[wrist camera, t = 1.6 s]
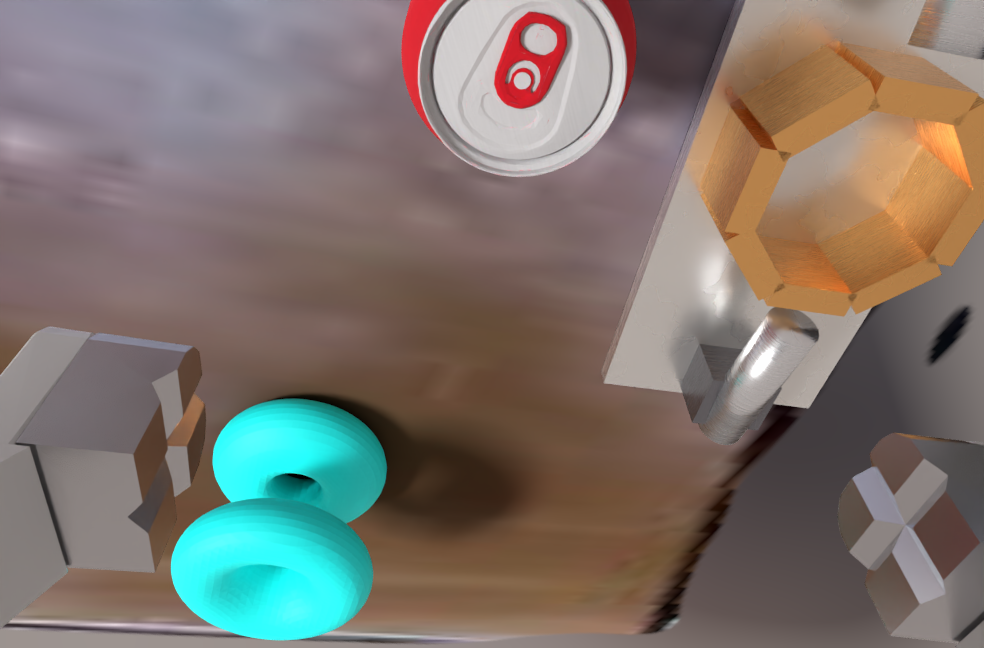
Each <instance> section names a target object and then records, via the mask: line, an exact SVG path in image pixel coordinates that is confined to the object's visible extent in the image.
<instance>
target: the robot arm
mask: <svg viewBox="0 0 984 648" xmlns="http://www.w3.org/2000/svg"><path fill="white" fill-rule="evenodd" d="M201 376H202V369H201V361H200V354H199V351H198V350H197V349H196V348H194V347H193V346H186V345H179V344H172V343H165V342H159V341H152V340H145V339H138V338H131V337H124V336H117V335H111V334H104V333H98V334H95V333H90V332H83V331H76V330H70V329H63V328H56V327H46V328H44V329H42V330H40V331H38V332H36V333H35V334H33V336H32V337H31V338H30V339H29V341H28V342H27V343H26V344H25V345H24V347H23V348H22V349H21V350H20V352H19V353H18V354H17V355H16V357H15V358H14V359H13V360H12V362H11V363H10V364H9V365H8V366H7V368H6V369H5V370H4V371H3V373H2V374H1V375H0V629H1V628H2V627H3V626H4V625H6V624H7V623H8V622H9V621H10V620H12V619H13V618H14V617H15V616H16V615H18V614H19V613H20V612H21V611H22V610H23V609H25V608H26V607H27V606H28V605H29V604H31V603H32V602H33V601H34V600H35V599H37V598H38V597H39V596H40V595H41V594H43V593H44V592H45V591H46V590H47V589H49V588H50V587H51V586H52V585H53V584H55V583H56V582H57V581H58V580H59V579H61V578H62V577H63V576H64V575H65V574H67V573H68V570H67V567H69V568H86V569H103V570H120V571H137V572H153V573H155V572H156V569H157V567H158V564H159V562H160V560H161V557H162V555H163V552H164V550H165V547H166V545H167V543H168V540H169V538H170V535H171V533H172V531H173V528H174V526H175V523H176V521H177V513H176V505H175V496H177V495H178V494H180V493H181V492H183V491H184V490H185V489H187V488H188V487H190V486H191V484H192V481H193V479H194V476H195V474H196V471H197V468H198V466H199V462H200V458H201V454H202V449H203V445H204V440H205V428H206V413H205V404H204V403H203V402H202V401H201V400H200V398H199V397H198V396H197V395H196V394H195V393H194V392H195V389H196V387H197V385H198V383H199V381H200V378H201ZM870 457H871V463H872V467H871V468H870V469H868V470H866V471H864V472H862V473H860V474H858V475H856V476H855V477H853V478H852V479H851V480H850V482H849V483H848V485H847V486H846V488H845V490H844V491H843V493H842V494H841V496H840V502H839V510H838V522H839V527H840V532H841V535H842V538H843V539H844V542H845V544H846V546H847V548H848V550H849V552H850V553H851V554H852V555H853V556H854V557H856V558H857V559H858V560H859V561H860V562H861V563H862V564H863V565H864V566H866V567H867V568H868V573H867V577H866V581H865V586H866V588H867V590H868V592H869V594H870V596H871V598H872V600H873V602H874V604H875V606H876V608H877V610H878V612H879V614H880V617H881V619H882V621H883V623H884V625H885V627H886V629H887V631H888V633H889V635H890V636H898V637H907V638H915V639H924V640H933V641H941V642H951V643H958V644H957V645H956V646H955V647H956V648H984V442H975V441H970V442H966V441H960V440H952V439H944V438H935V437H926V436H918V435H909V434H900V433H892V434H890V435H888V436H887V437H885V438H883V439H881V440H880V441H879V442H878V444H877V445H876V446H875V448H874V449H873V450H872V452H871V453H870Z"/></svg>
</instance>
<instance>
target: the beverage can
mask: <svg viewBox="0 0 984 648" xmlns="http://www.w3.org/2000/svg"><path fill="white" fill-rule="evenodd" d="M635 61H636V29H635V22H634V18H633V14H632V10H631V7H630V4H629V1H628V0H411V2H410V5H409V9H408V13H407V16H406V20H405V25H404V30H403V37H402V66H403V73H404V78H405V82H406V85H407V89H408V92H409V95H410V97H411V100H412V102H413V104H414V106H415V108H416V110H417V112H418V114H419V115H420V117H421V118H422V120H423V121H424V123H425V124H426V125H427V127H428V128H429V129H430V131H431V132H432V133H433V134H434V135H435V136H436V137H437V138H438V139H439V140H440V141H441V142H442V143H443V144H444V145H445V146H446V147H448V148H449V149H450V150H451V151H452V152H453V153H454V154H455V155H456V156H458V157H459V158H461V159H462V160H463V161H465V162H467V163H468V164H470V165H472V166H474V167H476V168H478V169H480V170H483V171H486V172H489V173H493V174H497V175H501V176H511V177H527V176H537V175H541V174H545V173H549V172H552V171H555V170H557V169H560V168H562V167H565V166H566V165H568V164H570V163H572V162H574V161H576V160H577V159H578V158H580V157H581V156H583V155H584V154H585V153H587V152H588V151H589V150H590V149H591V148H592V147H593V146H594V145H595V144H596V143H597V142H598V141H599V140H600V139H601V138H602V137H603V135H604V134H605V133H606V131H607V130H608V128H609V127H610V125H611V123H612V122H613V120H614V118H615V117H616V114H617V113H618V111H619V109H620V107H621V105H622V103H623V101H624V100H625V97H626V95H627V92H628V89H629V86H630V83H631V80H632V77H633V72H634V67H635Z"/></svg>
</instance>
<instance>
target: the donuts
mask: <svg viewBox="0 0 984 648" xmlns="http://www.w3.org/2000/svg"><path fill="white" fill-rule="evenodd" d="M213 468H214V473H215V477H216V480H217V482H218V484H219V486H220V488H221V489H222V491H223V493H224V494H225V496H226V497H227V498H228V499H229V500H230V501H231V502H232V503H228V504H225V505H222V506H220V507H218V508H215V509H213V510H211V511H209V512H208V513H206V514H204V515H202V516H201V517H199V518H198V519H197V520H196V521H195V522H193V523H192V524H191V525H190V526H189V527H188V528H187V529H186V530H185V532H184V533H183V534H182V536H181V537H180V539H179V540H178V542H177V544H176V547H175V549H174V552H173V555H172V562H171V574H172V579H173V583H174V586H175V589H176V591H177V593H178V594H179V596H180V597H181V599H182V600H183V601H184V602H185V604H186V605H187V606H188V607H189V608H190V609H191V610H192V611H193V612H194V613H195V614H197V615H198V616H199V617H201V618H202V619H204V620H206V621H207V622H209V623H211V624H213V625H215V626H217V627H219V628H221V629H224V630H227V631H229V632H232V633H235V634H239V635H243V636H247V637H253V638H259V639H267V640H296V639H304V638H310V637H314V636H318V635H322V634H325V633H327V632H330V631H332V630H334V629H336V628H338V627H340V626H342V625H343V624H345V623H346V622H348V621H349V620H350V619H352V618H353V617H354V616H355V615H356V614H357V613H358V612H359V611H360V609H361V608H362V607H363V605H364V604H365V602H366V600H367V598H368V596H369V594H370V591H371V587H372V581H373V567H372V561H371V558H370V555H369V553H368V550H367V548H366V546H365V544H364V543H363V542H362V540H361V539H360V537H359V536H358V535H357V534H356V533H355V531H354V530H353V529H352V528H351V527H349V526H348V525H347V524H346V523H348V522H350V521H352V520H354V519H356V518H357V517H359V516H360V515H362V514H363V513H365V512H366V511H367V510H368V509H369V508H370V507H371V506H372V505H373V504H374V503H375V501H376V500H377V499H378V497H379V496H380V494H381V492H382V489H383V487H384V484H385V480H386V473H387V464H386V458H385V454H384V451H383V448H382V446H381V444H380V442H379V441H378V439H377V437H376V436H375V435H374V433H373V432H372V431H371V430H370V429H369V428H368V427H367V426H366V425H365V424H364V423H363V422H362V421H360V420H359V419H358V418H356V417H355V416H353V415H352V414H350V413H348V412H346V411H344V410H342V409H340V408H338V407H335V406H333V405H330V404H326V403H322V402H318V401H313V400H307V399H294V398H293V399H278V400H272V401H267V402H263V403H260V404H257V405H254V406H252V407H250V408H248V409H246V410H244V411H243V412H241V413H239V414H238V415H237V416H235V417H234V418H233V419H232V420H231V421H230V422H229V423H228V424H227V425H226V426H225V427H224V429H223V430H222V431H221V433H220V435H219V437H218V439H217V441H216V444H215V447H214V452H213ZM285 473H295V474H301V475H305V476H308V477H310V478H312V479H300V478H295V477H292V476H289V475H286V474H285Z"/></svg>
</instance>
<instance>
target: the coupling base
mask: <svg viewBox="0 0 984 648" xmlns="http://www.w3.org/2000/svg"><path fill="white" fill-rule="evenodd" d="M983 220H984V0H735V3H734V6H733V9H732V11H731V14H730V17H729V20H728V23H727V25H726V28H725V31H724V34H723V36H722V39H721V42H720V45H719V47H718V50H717V53H716V56H715V58H714V61H713V64H712V67H711V69H710V72H709V75H708V78H707V80H706V83H705V86H704V89H703V91H702V94H701V97H700V100H699V102H698V105H697V108H696V111H695V113H694V116H693V119H692V122H691V124H690V127H689V130H688V133H687V136H686V138H685V141H684V144H683V147H682V149H681V152H680V155H679V158H678V160H677V163H676V166H675V169H674V171H673V174H672V177H671V180H670V182H669V185H668V188H667V191H666V193H665V196H664V199H663V202H662V204H661V207H660V210H659V213H658V215H657V218H656V221H655V224H654V226H653V229H652V232H651V235H650V237H649V240H648V243H647V246H646V249H645V251H644V254H643V257H642V260H641V262H640V265H639V268H638V271H637V273H636V276H635V279H634V282H633V284H632V287H631V290H630V293H629V295H628V298H627V301H626V304H625V306H624V309H623V312H622V315H621V317H620V320H619V323H618V326H617V328H616V331H615V334H614V337H613V339H612V342H611V345H610V348H609V350H608V353H607V356H606V359H605V362H604V364H603V367H602V370H601V373H602V378H603V382H604V383H607V384H615V385H624V386H632V387H640V388H648V389H656V390H664V391H672V392H681V393H683V396H684V399H685V402H686V405H687V408H688V411H689V414H690V417H691V420H692V423H698V424H699V427H700V429H701V431H702V432H703V433H704V434H705V435H706V436H707V437H708V438H709V439H711V440H712V441H714V442H716V443H719V444H723V445H731V444H734V443H736V442H737V441H738V440H739V439H740V438H741V437H742V435H743V434H744V433H745V432H746V430H747V429H751V430H758V429H759V427H760V426H761V424H762V422H763V420H764V419H765V417H766V415H767V414H768V412H769V410H770V408H771V407H772V405H773V404H778V405H787V406H795V407H803V408H809V407H810V405H811V404H812V402H813V401H814V399H815V397H816V396H817V394H818V393H819V391H820V389H821V388H822V386H823V385H824V383H825V381H826V380H827V378H828V377H829V375H830V373H831V372H832V370H833V369H834V367H835V366H836V364H837V362H838V361H839V359H840V358H841V356H842V354H843V353H844V351H845V350H846V348H847V346H848V345H849V343H850V342H851V340H852V339H853V337H854V335H855V334H856V332H857V331H858V329H859V327H860V326H861V324H862V323H863V321H864V319H865V318H866V316H867V315H868V313H869V311H870V310H871V308H872V307H874V306H876V305H878V304H880V303H882V302H884V301H886V300H889V299H891V298H893V297H895V296H897V295H899V294H901V293H903V292H906V291H908V290H910V289H912V288H914V287H916V286H919V285H921V284H923V283H925V282H927V281H929V280H931V279H934V278H936V277H938V276H940V275H942V274H941V272H940V269H939V266H938V264H941V265H947V266H953V264H954V263H955V261H956V260H957V258H958V257H959V255H960V254H961V252H962V251H963V250H964V248H965V247H966V245H967V244H968V242H969V241H970V239H971V238H972V236H973V235H974V233H975V232H976V231H977V229H978V228H979V226H980V225H981V223H982V222H983Z"/></svg>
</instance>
